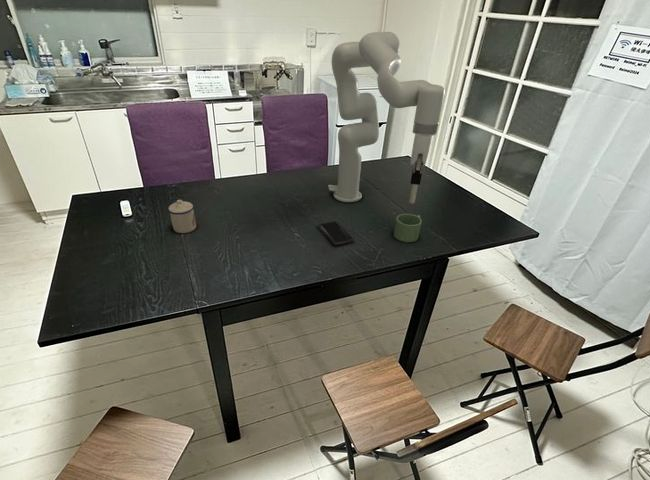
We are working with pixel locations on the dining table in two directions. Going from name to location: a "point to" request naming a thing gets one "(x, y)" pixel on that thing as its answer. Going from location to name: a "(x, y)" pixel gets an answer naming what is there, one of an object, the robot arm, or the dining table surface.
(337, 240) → the phone
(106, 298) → the dining table surface
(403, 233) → the mug
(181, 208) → the teacup with lid
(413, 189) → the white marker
